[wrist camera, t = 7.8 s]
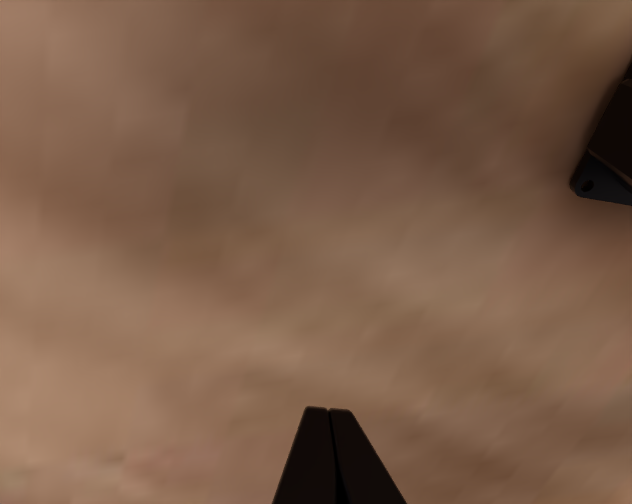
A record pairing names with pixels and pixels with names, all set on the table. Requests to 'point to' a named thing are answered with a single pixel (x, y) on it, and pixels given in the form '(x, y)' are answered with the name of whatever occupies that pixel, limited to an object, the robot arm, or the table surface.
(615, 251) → the table surface
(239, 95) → the table surface
